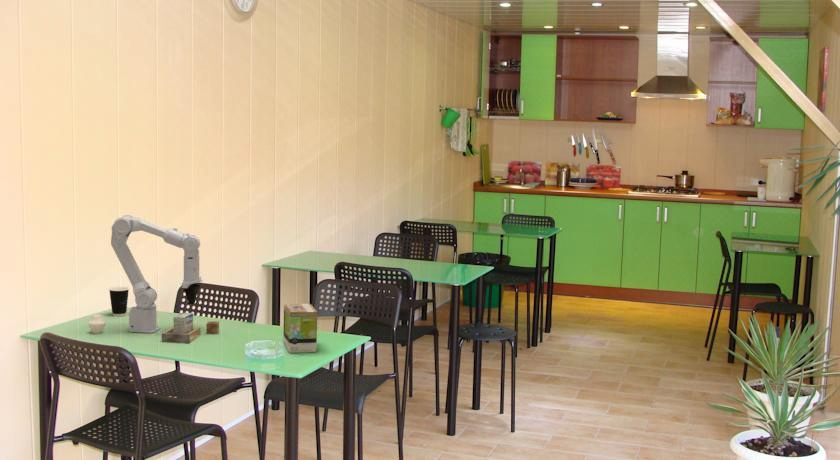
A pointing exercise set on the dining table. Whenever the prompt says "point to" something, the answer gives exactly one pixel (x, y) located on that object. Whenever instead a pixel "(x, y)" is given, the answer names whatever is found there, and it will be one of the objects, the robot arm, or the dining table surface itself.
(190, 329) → the medicine box
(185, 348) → the dining table surface
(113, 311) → the dixie cup
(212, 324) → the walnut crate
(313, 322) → the tea box
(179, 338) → the dock bay
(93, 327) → the cream lidded jar
